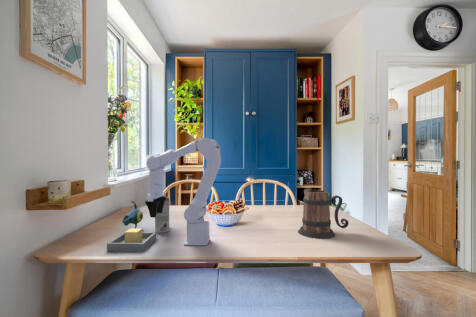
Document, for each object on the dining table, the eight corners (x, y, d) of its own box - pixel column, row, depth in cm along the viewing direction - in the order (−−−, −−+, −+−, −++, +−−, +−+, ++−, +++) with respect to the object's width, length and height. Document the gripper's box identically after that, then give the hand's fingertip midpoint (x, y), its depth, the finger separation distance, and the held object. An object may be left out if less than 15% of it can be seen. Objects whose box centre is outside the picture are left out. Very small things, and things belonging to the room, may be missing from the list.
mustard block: (142, 240, 101) (142, 228, 101) (137, 244, 96) (137, 232, 96) (130, 240, 101) (130, 228, 101) (124, 244, 96) (124, 232, 96)
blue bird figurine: (139, 235, 115) (127, 234, 116) (148, 213, 124) (137, 212, 124) (127, 222, 106) (115, 221, 107) (138, 199, 114) (126, 198, 115)
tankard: (303, 239, 105) (304, 193, 105) (293, 227, 122) (294, 188, 121) (356, 238, 105) (357, 193, 105) (339, 227, 122) (339, 188, 122)
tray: (156, 238, 105) (156, 232, 105) (143, 251, 91) (143, 243, 91) (124, 238, 105) (124, 232, 105) (106, 250, 91) (106, 243, 91)
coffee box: (154, 227, 121) (154, 196, 121) (168, 226, 124) (167, 195, 123) (155, 233, 113) (155, 199, 113) (169, 231, 115) (169, 198, 115)
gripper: (153, 182, 112) (153, 211, 112) (140, 186, 98) (140, 219, 98) (168, 182, 112) (168, 211, 112) (157, 186, 98) (157, 219, 98)
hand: (156, 215), depth 105 cm, fingers open, 7 cm apart
